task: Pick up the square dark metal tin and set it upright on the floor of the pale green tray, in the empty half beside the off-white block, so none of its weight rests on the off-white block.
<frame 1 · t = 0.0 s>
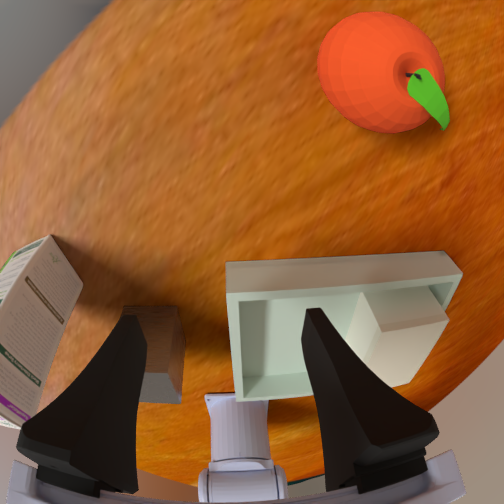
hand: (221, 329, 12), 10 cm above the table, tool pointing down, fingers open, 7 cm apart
syrup box: (49, 266, 22), on the table
clementine: (361, 73, 16), on the table
tin: (155, 324, 27), on the table
off-white block: (380, 323, 28), point 1 cm above the table, touching pale green tray
pale green tray: (334, 322, 28), on the table
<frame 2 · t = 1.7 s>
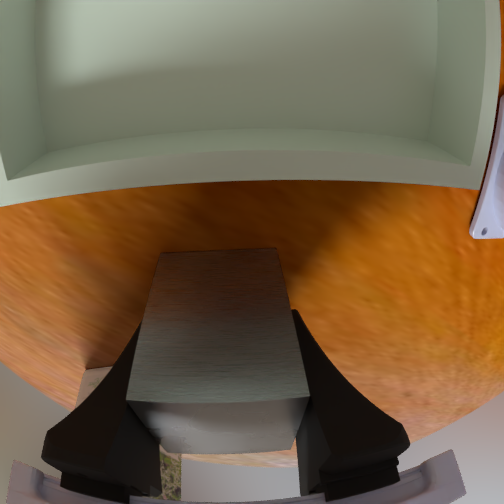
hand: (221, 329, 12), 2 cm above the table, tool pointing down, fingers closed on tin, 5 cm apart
syrup box: (135, 383, 19), on the table
tin: (221, 293, 14), on the table, touching gripper
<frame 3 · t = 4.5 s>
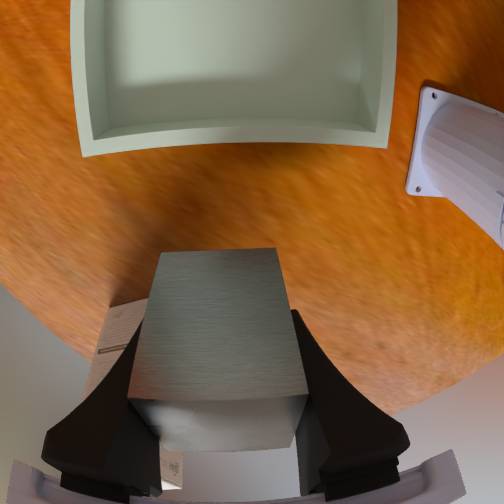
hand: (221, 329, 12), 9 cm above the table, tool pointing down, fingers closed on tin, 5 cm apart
syrup box: (149, 320, 26), on the table
tin: (221, 293, 14), point 7 cm above the table, touching gripper
when the fingers open (4 cm above the table, at t = 7.4 s): tin stays where it is, resting on pale green tray.
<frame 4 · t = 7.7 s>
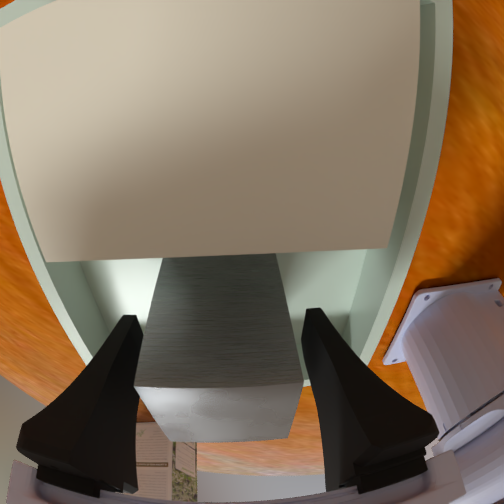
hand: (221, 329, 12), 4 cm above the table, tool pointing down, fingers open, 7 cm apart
syrup box: (164, 429, 28), on the table
tin: (222, 290, 15), point 1 cm above the table, touching pale green tray
off-white block: (210, 96, 10), point 1 cm above the table, touching pale green tray
pale green tray: (216, 203, 13), on the table
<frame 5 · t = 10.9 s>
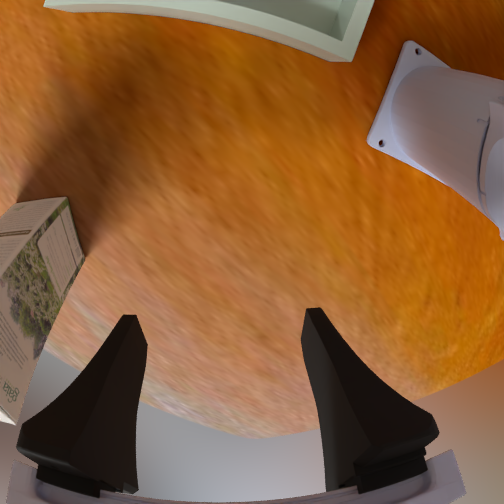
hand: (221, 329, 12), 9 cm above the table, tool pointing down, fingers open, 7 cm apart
syrup box: (51, 229, 20), on the table
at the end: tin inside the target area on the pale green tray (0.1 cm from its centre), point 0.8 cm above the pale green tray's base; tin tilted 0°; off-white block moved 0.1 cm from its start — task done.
